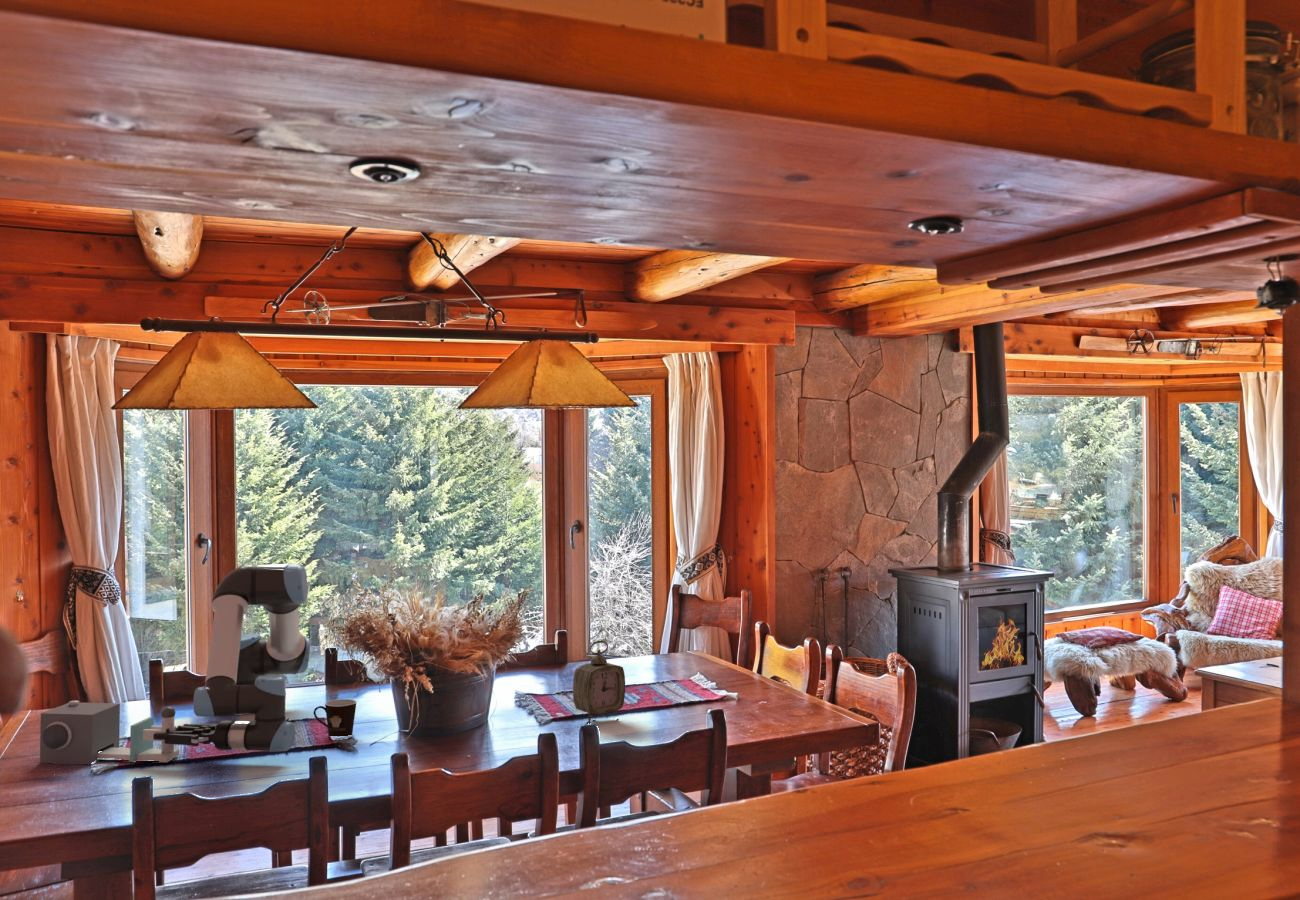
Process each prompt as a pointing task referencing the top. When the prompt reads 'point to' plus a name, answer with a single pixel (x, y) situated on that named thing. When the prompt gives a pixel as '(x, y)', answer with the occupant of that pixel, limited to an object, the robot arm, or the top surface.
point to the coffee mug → (339, 716)
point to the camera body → (78, 732)
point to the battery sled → (145, 742)
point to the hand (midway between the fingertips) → (148, 732)
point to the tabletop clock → (599, 686)
